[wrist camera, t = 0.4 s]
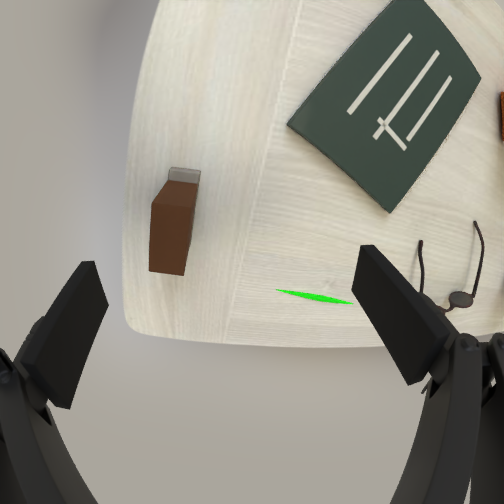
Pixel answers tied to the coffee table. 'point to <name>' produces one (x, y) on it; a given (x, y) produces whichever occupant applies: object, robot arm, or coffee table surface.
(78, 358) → the robot arm
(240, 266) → the coffee table surface
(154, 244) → the eraser
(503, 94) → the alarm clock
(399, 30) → the chalkboard
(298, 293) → the leaf
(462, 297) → the eyeglasses
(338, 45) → the coffee table surface
